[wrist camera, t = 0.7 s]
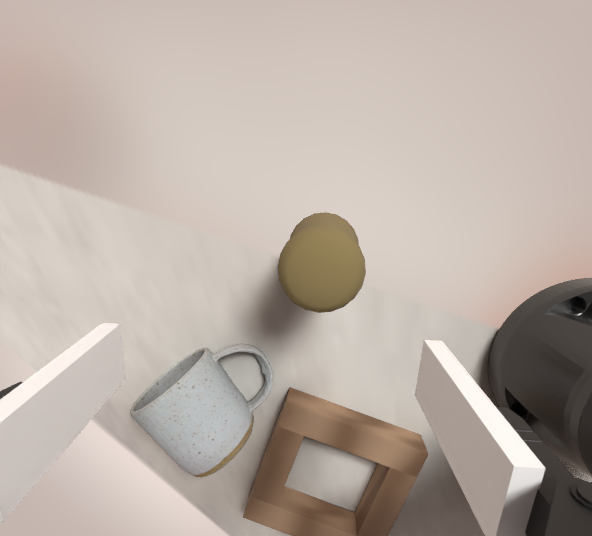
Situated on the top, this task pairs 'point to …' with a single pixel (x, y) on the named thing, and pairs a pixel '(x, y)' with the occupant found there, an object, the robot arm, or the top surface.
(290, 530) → the socket block
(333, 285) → the olive rounded upright piece
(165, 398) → the ceramic mug
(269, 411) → the top surface
